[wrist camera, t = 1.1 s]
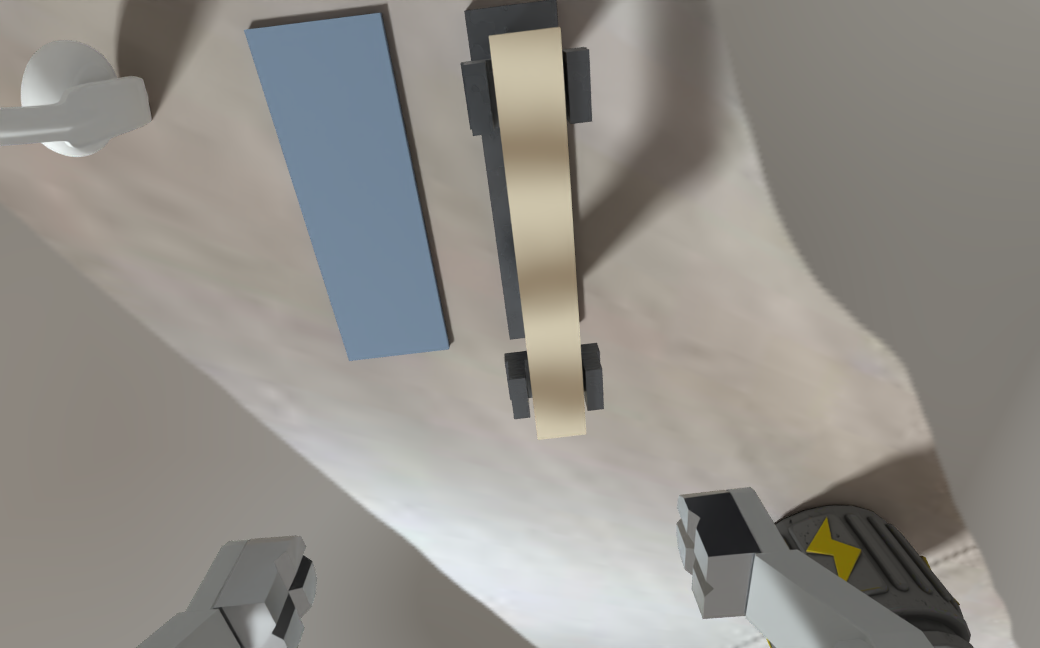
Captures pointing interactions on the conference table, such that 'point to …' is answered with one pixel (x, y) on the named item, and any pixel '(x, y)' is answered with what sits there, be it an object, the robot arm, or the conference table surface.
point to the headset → (73, 101)
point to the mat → (354, 179)
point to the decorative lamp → (878, 568)
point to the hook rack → (487, 125)
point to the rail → (542, 220)
